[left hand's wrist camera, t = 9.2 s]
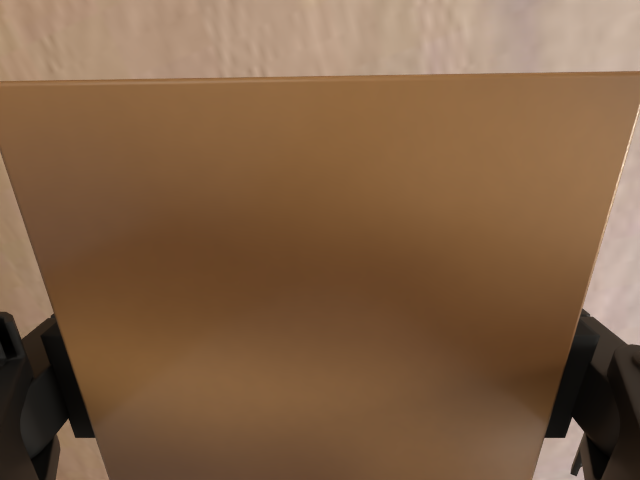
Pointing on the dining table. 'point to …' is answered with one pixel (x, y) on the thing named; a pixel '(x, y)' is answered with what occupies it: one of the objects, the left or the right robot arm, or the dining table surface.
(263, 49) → the dining table surface
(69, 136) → the wide beam
